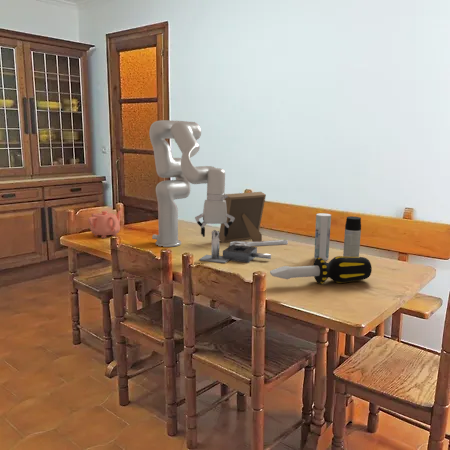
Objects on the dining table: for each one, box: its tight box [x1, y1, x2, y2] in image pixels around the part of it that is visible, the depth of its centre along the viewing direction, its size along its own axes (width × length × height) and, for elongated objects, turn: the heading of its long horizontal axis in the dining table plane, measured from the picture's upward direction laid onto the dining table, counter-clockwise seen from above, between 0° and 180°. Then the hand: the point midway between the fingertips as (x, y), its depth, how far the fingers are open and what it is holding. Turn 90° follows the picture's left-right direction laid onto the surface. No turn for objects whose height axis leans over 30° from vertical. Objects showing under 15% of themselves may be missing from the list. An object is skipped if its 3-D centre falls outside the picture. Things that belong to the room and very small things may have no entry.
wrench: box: [229, 239, 288, 247], centre depth 232 cm, size 8×2×30 cm
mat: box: [198, 254, 230, 264], centre depth 206 cm, size 12×8×1 cm, turn 69°
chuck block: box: [222, 245, 272, 263], centre depth 208 cm, size 20×12×4 cm, turn 69°
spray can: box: [342, 216, 362, 257], centre depth 201 cm, size 7×7×20 cm
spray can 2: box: [313, 212, 332, 261], centre depth 208 cm, size 6×6×20 cm
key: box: [211, 229, 220, 259], centre depth 205 cm, size 6×3×12 cm, turn 9°
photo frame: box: [219, 191, 266, 244], centre depth 237 cm, size 15×22×25 cm
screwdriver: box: [269, 255, 373, 285], centre depth 174 cm, size 39×10×10 cm, turn 103°
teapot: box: [87, 209, 124, 239], centre depth 249 cm, size 16×17×14 cm
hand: (214, 236), depth 205 cm, fingers open, 9 cm apart
